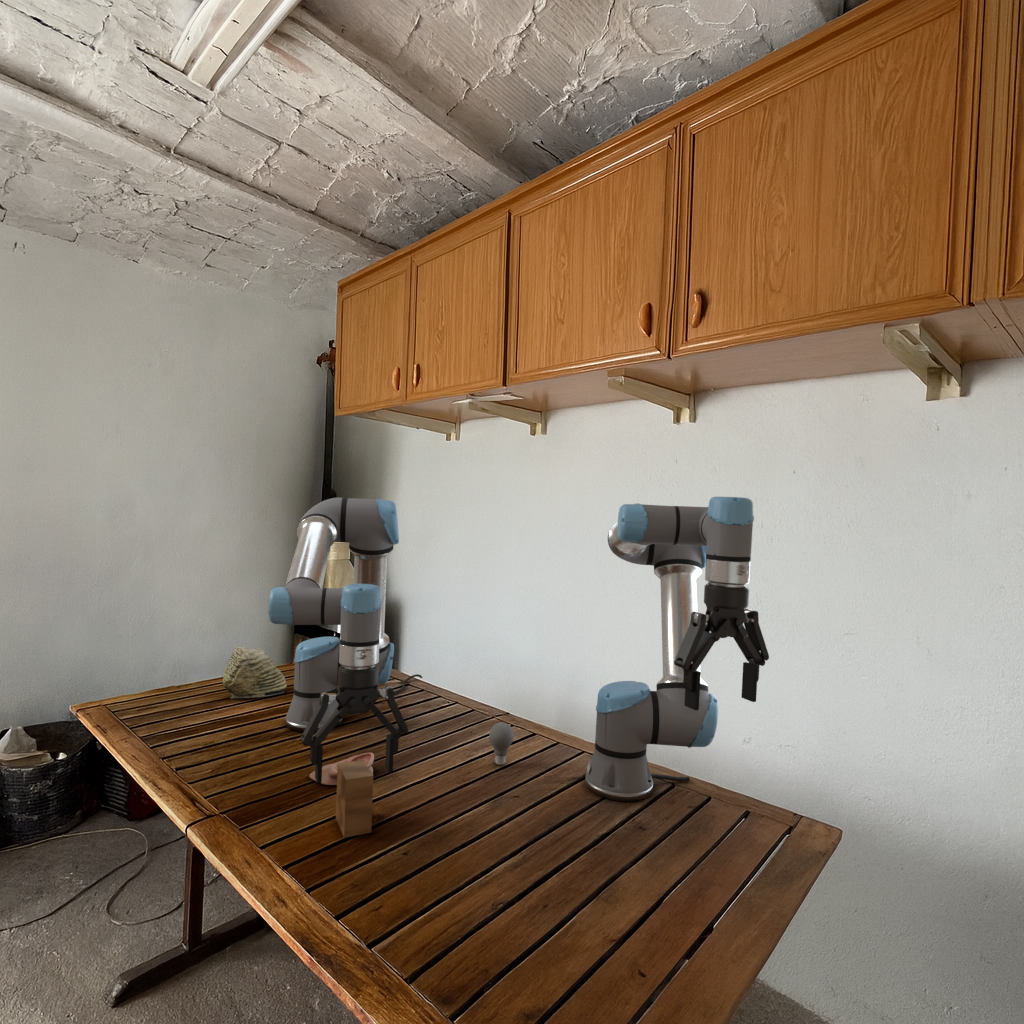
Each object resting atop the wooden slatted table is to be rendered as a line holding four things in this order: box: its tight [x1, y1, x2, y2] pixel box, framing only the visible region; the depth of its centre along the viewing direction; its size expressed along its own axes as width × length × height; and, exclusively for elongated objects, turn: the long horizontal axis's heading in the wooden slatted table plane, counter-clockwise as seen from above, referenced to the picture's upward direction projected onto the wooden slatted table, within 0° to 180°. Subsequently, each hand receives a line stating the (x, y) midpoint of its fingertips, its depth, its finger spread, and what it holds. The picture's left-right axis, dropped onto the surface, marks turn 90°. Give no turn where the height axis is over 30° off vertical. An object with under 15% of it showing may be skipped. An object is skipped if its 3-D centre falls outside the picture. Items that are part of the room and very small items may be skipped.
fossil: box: [222, 646, 288, 699], centre depth 198 cm, size 9×18×15 cm, turn 132°
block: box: [335, 760, 374, 839], centre depth 123 cm, size 8×5×11 cm
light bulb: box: [488, 722, 515, 766], centre depth 154 cm, size 6×6×10 cm
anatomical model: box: [308, 751, 375, 786], centre depth 144 cm, size 13×4×12 cm
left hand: (354, 774), depth 122 cm, fingers open, 13 cm apart
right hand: (720, 703), depth 112 cm, fingers open, 13 cm apart
